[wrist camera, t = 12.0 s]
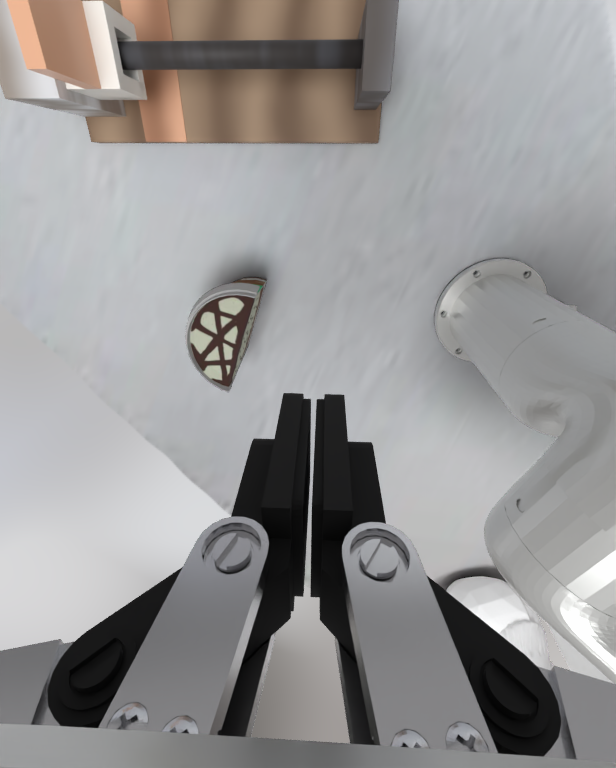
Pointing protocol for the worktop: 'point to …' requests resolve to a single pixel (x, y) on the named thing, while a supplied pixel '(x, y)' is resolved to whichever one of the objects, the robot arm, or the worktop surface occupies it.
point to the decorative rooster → (504, 615)
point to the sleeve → (77, 46)
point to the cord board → (233, 72)
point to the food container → (223, 329)
